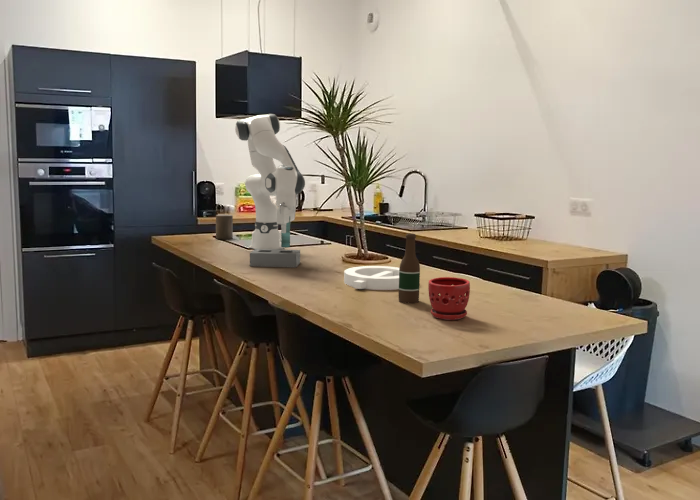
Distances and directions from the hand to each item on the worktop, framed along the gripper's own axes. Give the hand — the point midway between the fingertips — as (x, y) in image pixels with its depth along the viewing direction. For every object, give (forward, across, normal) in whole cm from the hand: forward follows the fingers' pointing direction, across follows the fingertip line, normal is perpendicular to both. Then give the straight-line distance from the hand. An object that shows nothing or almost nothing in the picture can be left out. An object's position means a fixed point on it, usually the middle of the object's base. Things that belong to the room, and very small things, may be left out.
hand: (285, 232), depth 304 cm
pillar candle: (+15, +77, +56) cm, 97 cm away
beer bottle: (+15, -62, -60) cm, 87 cm away
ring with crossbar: (+15, -31, -46) cm, 58 cm away
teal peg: (+7, 0, 0) cm, 7 cm away
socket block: (+15, 0, +5) cm, 16 cm away
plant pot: (+15, -81, -74) cm, 111 cm away
